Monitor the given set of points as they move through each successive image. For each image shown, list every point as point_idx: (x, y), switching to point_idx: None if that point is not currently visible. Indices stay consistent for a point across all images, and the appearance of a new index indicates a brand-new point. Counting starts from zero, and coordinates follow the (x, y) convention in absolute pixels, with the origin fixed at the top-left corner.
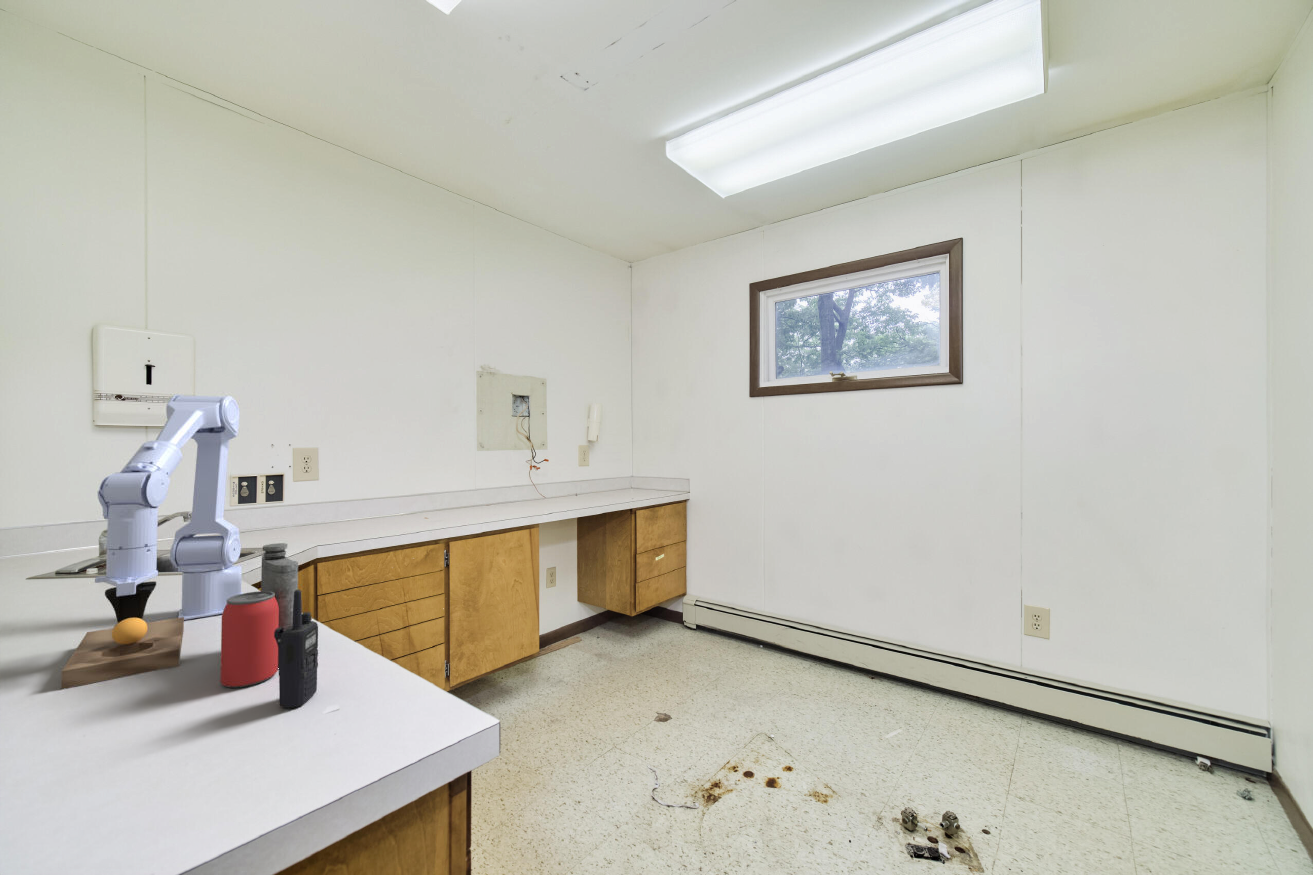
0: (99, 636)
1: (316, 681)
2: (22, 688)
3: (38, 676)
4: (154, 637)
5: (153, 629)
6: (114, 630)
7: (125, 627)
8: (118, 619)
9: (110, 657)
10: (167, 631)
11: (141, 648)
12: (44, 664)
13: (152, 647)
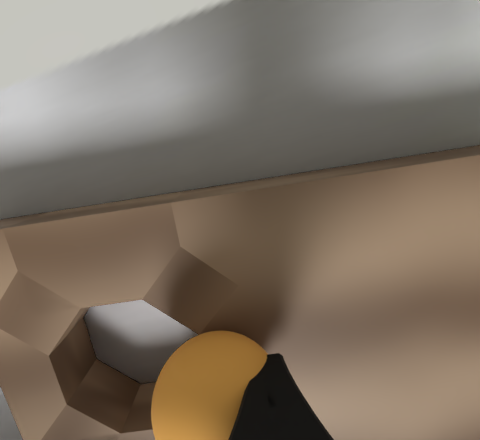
0: (423, 220)
1: None
2: (62, 96)
3: (180, 99)
4: None
5: (391, 386)
6: (173, 377)
7: (155, 429)
8: (238, 416)
9: (48, 344)
10: None
11: None
12: (334, 63)
13: (116, 433)
